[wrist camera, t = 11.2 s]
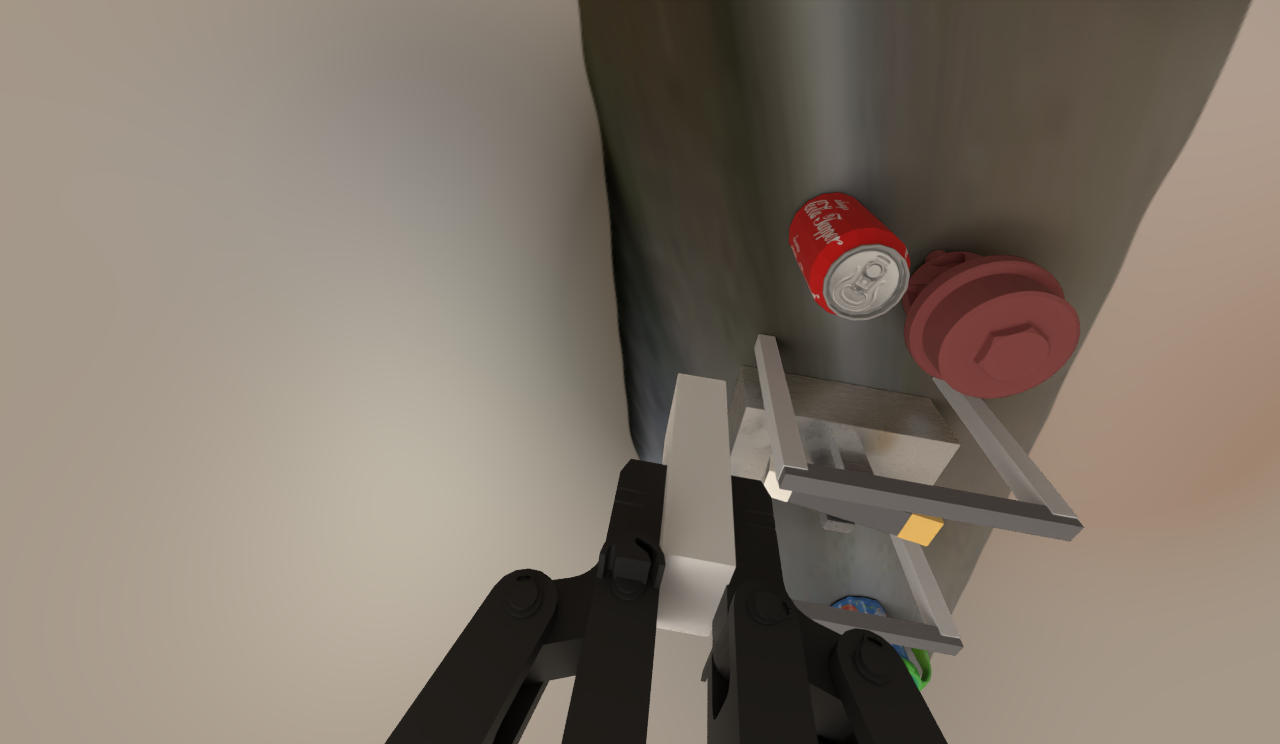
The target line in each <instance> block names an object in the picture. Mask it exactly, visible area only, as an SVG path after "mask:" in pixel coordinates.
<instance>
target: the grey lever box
mask: <svg viewBox="0 0 1280 744" xmlns="http://www.w3.org/2000/svg"><path fill="white" fill-rule="evenodd" d="M784 374H785V378H786V382H787V386H788V390H789V394H790V398H791V402H792V406H793V410H794V414H795V418H796V422H797V426H798V430H799V434H800V438H801V442H802V446H803V450H804V454H805V458H806V462H807V463H810V464H815V465H821V466H826V467H832V468H838V469H843V470H849V471H854V472H860V473H865V474H871V475H877V476H882V477H888V478H893V479H899V480H905V481H910V482H916V483H921V484H927V485H932V486H933V485H934V483H935V482H936V480H937V479H938V477H939V476H940V474H941V473H942V471H943V470H944V468H945V467H946V465H947V464H948V462H949V461H950V460H951V458H952V457H953V455H954V454H955V452H956V451H957V449H958V448H959V446H960V443H959V442H958V440H957V439H956V437H955V436H954V434H953V433H952V431H951V430H950V428H949V427H948V425H947V424H946V422H945V421H944V419H943V418H942V416H941V415H940V413H939V412H938V410H937V409H936V407H935V406H934V404H933V403H932V401H931V400H930V398H926V397H920V396H915V395H909V394H903V393H898V392H892V391H886V390H880V389H875V388H869V387H863V386H858V385H852V384H846V383H840V382H835V381H829V380H823V379H818V378H812V377H806V376H800V375H795V374H789V373H784ZM727 413H728V431H729V449H730V467H731V475H732V476H738V477H743V478H749V479H755V480H760V481H762V476H763V474H764V471H765V468H766V466H767V463H768V461H769V458H770V456H771V455H772V450H771V444H770V438H769V432H768V426H767V421H766V415H765V409H764V403H763V397H762V391H761V385H760V379H759V373H758V368H755V367H749V366H743V365H742V366H741V369H740V372H739V376H738V379H737V382H736V386H735V389H734V392H733V396H732V399H731V402H730V406H729V409H728V412H727ZM818 512H819V511H818ZM819 516H820V520H821V524H822V528H823V529H826V530H832V531H837V532H843V533H848V534H850V533H851V531H852V530H853V528H854V526H855V523H854V522H851V521H848V520H844V519H841V518H838V517H835V516H832V515H829V514H825V513H822V512H819Z"/></svg>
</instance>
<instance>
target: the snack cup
mask: <svg viewBox="0 0 1280 744" xmlns="http://www.w3.org/2000/svg"><path fill="white" fill-rule="evenodd" d="M830 607H836V608H841V609H846V610H852V611H857V612H862V613H868V614H873V615H879V616H884V617H888V616H887V614H886V612H885V610H884V609H883V607H882V606H881V605H880V604H879V602H877V601H876V600H871V599H869V598H863V597H847V598H845V599H842V600H840V601H838V602H836V603H835V604H834V605H832V606H830ZM841 635H842V634H841ZM891 645H892V646H893V647H894V648H895V650H896V651H897V652H898V654H899V655H900V657H901V658H902V660H903V661H904V663H905V665H906V667H907V669H908V670H909V672H910V674H911V676H912V678H913V680H914V682H915V683H916V685H917V687H918V689H919V691H921V689H923V688H924V687H925V686H926V685H927V683H928V682H929V680H930V678H931V665H930V660H929V656H928V653H927V650H922V649H916V648H912V651H913V653H914V655H915V657H916V659H917V661H918V663H919V664H920V666H921V668H922V670H923V673H922V677H921V678H920V675H919V673H918V670H917V669H916V667H915V666H914V664H913V663H912V662H911V661H910V660H909V658H908V655H907V653H906V651H905V649H904V647H903V646H900V645H895V644H891Z"/></svg>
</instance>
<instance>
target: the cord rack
mask: <svg viewBox="0 0 1280 744" xmlns="http://www.w3.org/2000/svg"><path fill="white" fill-rule="evenodd" d="M754 349H755V355H756V361H757V367H758V373H759V379H760V385H761V391H762V397H763V403H764V409H765V415H766V421H767V426H768V432H769V438H770V444H771V450H772V456H773V462H774V468H775V474H776V480H777V482H778V484H779V489H783V490H789V491H794V492H800V493H805V494H811V495H816V496H822V497H827V498H833V499H838V500H844V501H849V502H855V503H861V504H866V505H872V506H877V507H883V508H888V509H894V510H899V511H905V512H910V513H916V514H921V515H927V516H932V517H938V518H943V519H949V520H955V521H960V522H966V523H971V524H977V525H982V526H988V527H993V528H999V529H1005V530H1010V531H1015V532H1021V533H1027V534H1032V535H1038V536H1043V537H1049V538H1054V539H1061V540H1065V541H1071V540H1072V539H1073V538H1074V537H1075V536H1076V535H1077V534H1078V533H1079V532H1080V531H1081V530H1082V529H1083V528H1084V527H1083V526H1082V524H1081V523H1080V522H1079V521H1078V516H1077V515H1076V514H1075V513H1074V512H1073V510H1072V509H1071V508H1070V507H1069V505H1068V504H1067V503H1066V502H1065V501H1064V499H1063V498H1062V497H1061V496H1060V494H1059V493H1058V492H1057V491H1056V489H1055V488H1054V487H1053V486H1052V484H1051V483H1050V482H1049V481H1048V480H1047V478H1046V477H1045V476H1044V475H1043V473H1042V472H1041V471H1040V470H1039V469H1038V467H1037V466H1036V465H1035V464H1034V463H1033V461H1032V460H1031V459H1030V458H1029V456H1028V455H1027V454H1026V453H1025V451H1024V450H1023V449H1022V448H1021V447H1020V445H1019V444H1018V443H1017V442H1016V440H1015V439H1014V438H1013V437H1012V436H1011V434H1010V433H1009V432H1008V431H1007V429H1006V428H1005V427H1004V426H1003V425H1002V423H1001V422H1000V421H999V420H998V418H997V417H996V416H995V415H994V413H993V412H992V411H991V410H990V409H989V407H988V406H987V405H986V404H985V402H984V401H983V400H982V399H981V398H976V397H971V396H967V395H964V394H962V393H959V392H958V391H956V390H954V389H953V388H951V387H950V386H949V385H948V384H947V383H946V382H945V381H944V380H940V379H937V378H935V377H933V378H932V380H933V381H934V383H935V384H936V385H937V387H938V388H939V390H940V391H941V392H942V394H943V395H944V397H945V398H946V399H947V401H948V402H949V404H950V405H951V406H952V408H953V409H954V411H955V412H956V413H957V415H958V416H959V418H960V419H961V420H962V422H963V423H964V425H965V426H966V427H967V429H968V430H969V432H970V433H971V435H972V436H973V437H974V439H975V440H976V442H977V443H978V444H979V446H980V447H981V449H982V450H983V451H984V453H985V454H986V456H987V457H988V458H989V460H990V461H991V463H992V464H993V465H994V467H995V468H996V470H997V471H998V472H999V474H1000V475H1001V477H1002V478H1003V479H1004V481H1005V482H1006V484H1007V485H1008V486H1009V488H1010V489H1011V491H1012V492H1013V494H1014V495H1015V496H1016V498H1017V499H1018V501H1016V500H1010V499H1005V498H999V497H994V496H988V495H983V494H977V493H971V492H966V491H960V490H955V489H949V488H944V487H938V486H932V485H927V484H921V483H916V482H910V481H905V480H899V479H893V478H888V477H882V476H877V475H871V474H865V473H860V472H854V471H849V470H843V469H838V468H832V467H826V466H821V465H815V464H810V463H807V462H806V458H805V454H804V450H803V446H802V442H801V438H800V434H799V430H798V426H797V422H796V418H795V414H794V410H793V406H792V402H791V398H790V394H789V390H788V386H787V382H786V378H785V374H784V370H783V366H782V362H781V358H780V354H779V350H778V346H777V342H776V338H775V337H774V336H768V335H763V334H758V338H757V341H756V344H755V347H754ZM890 537H891V539H892V542H893V544H894V547H895V549H896V552H897V555H898V557H899V560H900V562H901V565H902V567H903V570H904V573H905V575H906V578H907V580H908V583H909V585H910V588H911V591H912V593H913V596H914V598H915V601H916V603H917V606H918V609H919V611H920V614H921V616H922V619H923V621H924V624H921V623H916V622H911V621H905V620H900V619H895V618H889V617H884V616H879V615H873V614H868V613H862V612H857V611H852V610H846V609H841V608H836V607H830V606H825V605H819V604H814V603H809V602H803V601H798V600H793V599H791V600H792V601H793V602H794V605H795V606H796V607H797V608H798V609H799V610H800V611H801V612H802V613H803V614H804V615H806V616H807V617H809V618H810V619H812V620H814V621H815V622H817V623H819V624H821V625H823V626H825V627H827V628H829V629H831V630H833V631H835V632H837V633H839V634H842V635H843V633H844V632H845V631H848V630H851V629H854V628H859V629H866V630H869V631H871V632H873V633H875V634H877V635H879V636H881V637H883V638H884V639H885V640H886V641H887V642H888V643H890V644H895V645H900V646H906V647H911V648H916V649H922V650H927V651H932V652H938V653H943V654H949V655H954V656H955V655H956V654H957V653H958V652H959V651H960V650H961V649H962V648H963V644H962V642H961V640H960V638H961V637H960V634H959V632H958V630H957V627H956V626H955V623H954V621H953V618H952V616H951V614H950V612H949V609H948V607H947V605H946V603H945V600H944V598H943V596H942V594H941V591H940V589H939V587H938V585H937V582H936V580H935V578H934V576H933V573H932V571H931V569H930V566H929V564H928V562H927V560H926V557H925V555H924V553H923V551H922V548H921V546H920V544H918V543H915V542H911V541H908V540H905V539H902V538H899V537H897V536H895V535H892V534H890Z"/></svg>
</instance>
